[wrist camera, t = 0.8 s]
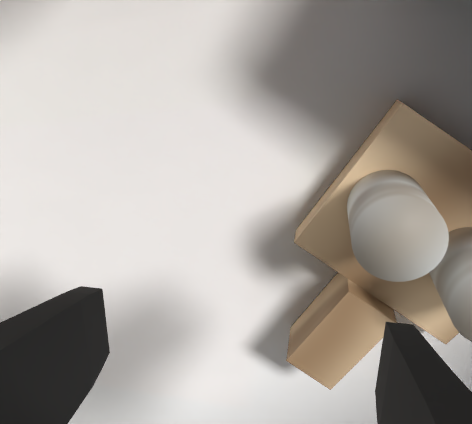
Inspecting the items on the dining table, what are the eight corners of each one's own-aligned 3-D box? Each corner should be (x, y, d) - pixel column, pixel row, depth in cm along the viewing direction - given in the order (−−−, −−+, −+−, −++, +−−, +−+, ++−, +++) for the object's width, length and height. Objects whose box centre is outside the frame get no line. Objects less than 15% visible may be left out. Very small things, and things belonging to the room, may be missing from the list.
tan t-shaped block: (559, 210, 18) (641, 266, 13) (375, 383, 22) (388, 470, 17) (397, 99, 17) (423, 115, 13) (244, 296, 22) (222, 361, 17)
